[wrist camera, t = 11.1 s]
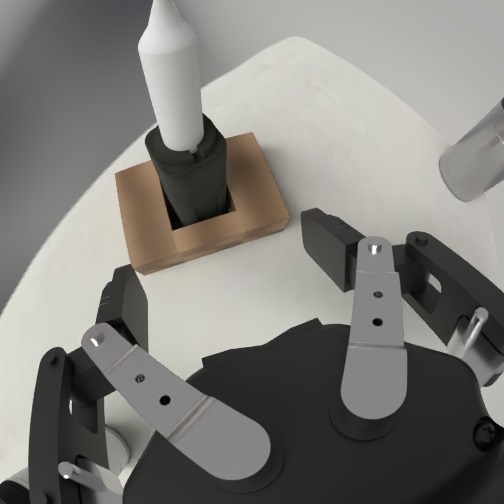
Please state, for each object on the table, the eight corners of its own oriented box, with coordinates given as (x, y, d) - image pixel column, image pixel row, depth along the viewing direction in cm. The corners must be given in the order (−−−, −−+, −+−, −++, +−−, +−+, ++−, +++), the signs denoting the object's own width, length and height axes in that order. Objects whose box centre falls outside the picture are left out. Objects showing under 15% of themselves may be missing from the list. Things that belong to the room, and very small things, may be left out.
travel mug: (142, 465, 22) (72, 570, 3) (98, 468, 21) (16, 548, 2) (119, 420, 24) (12, 503, 4) (77, 426, 23) (-32, 485, 3)
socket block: (249, 151, 33) (252, 132, 29) (282, 230, 31) (290, 217, 27) (126, 189, 30) (114, 173, 26) (144, 275, 28) (131, 268, 24)
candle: (206, 181, 31) (190, -36, 7) (230, 215, 31) (246, -18, 6) (168, 203, 30) (92, -6, 6) (190, 239, 29) (115, 16, 5)
